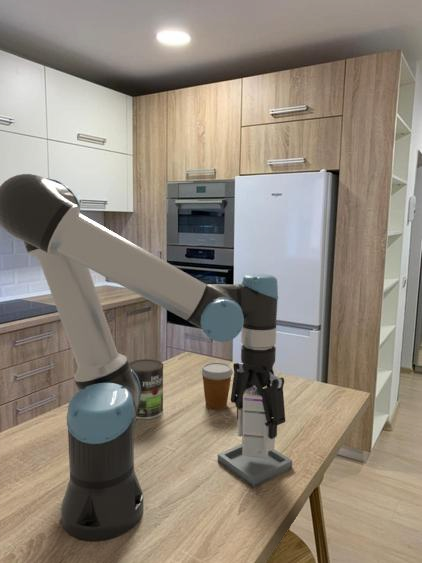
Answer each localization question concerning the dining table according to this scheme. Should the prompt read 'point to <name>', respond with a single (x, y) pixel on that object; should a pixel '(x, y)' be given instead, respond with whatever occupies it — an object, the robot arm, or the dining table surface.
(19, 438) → the dining table surface
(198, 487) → the dining table surface
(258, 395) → the syrup box
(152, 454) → the dining table surface
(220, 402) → the disposable coffee cup
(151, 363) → the coffee can
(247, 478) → the tray
